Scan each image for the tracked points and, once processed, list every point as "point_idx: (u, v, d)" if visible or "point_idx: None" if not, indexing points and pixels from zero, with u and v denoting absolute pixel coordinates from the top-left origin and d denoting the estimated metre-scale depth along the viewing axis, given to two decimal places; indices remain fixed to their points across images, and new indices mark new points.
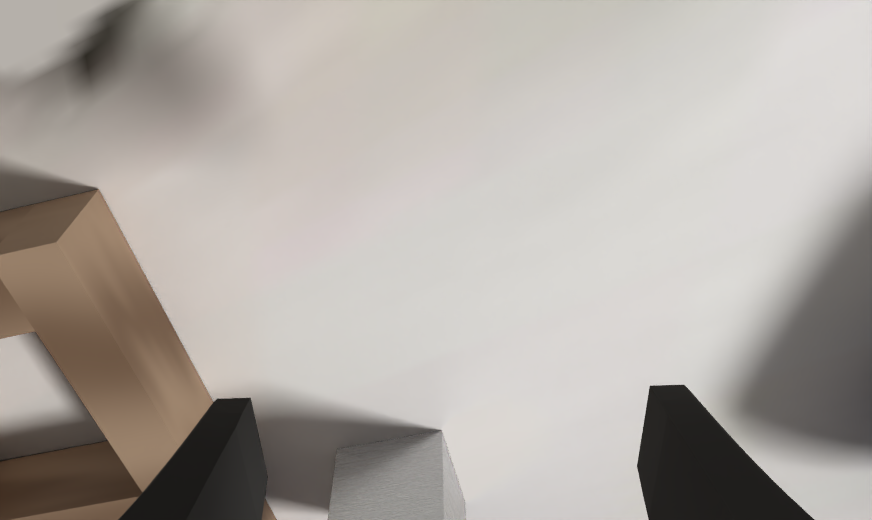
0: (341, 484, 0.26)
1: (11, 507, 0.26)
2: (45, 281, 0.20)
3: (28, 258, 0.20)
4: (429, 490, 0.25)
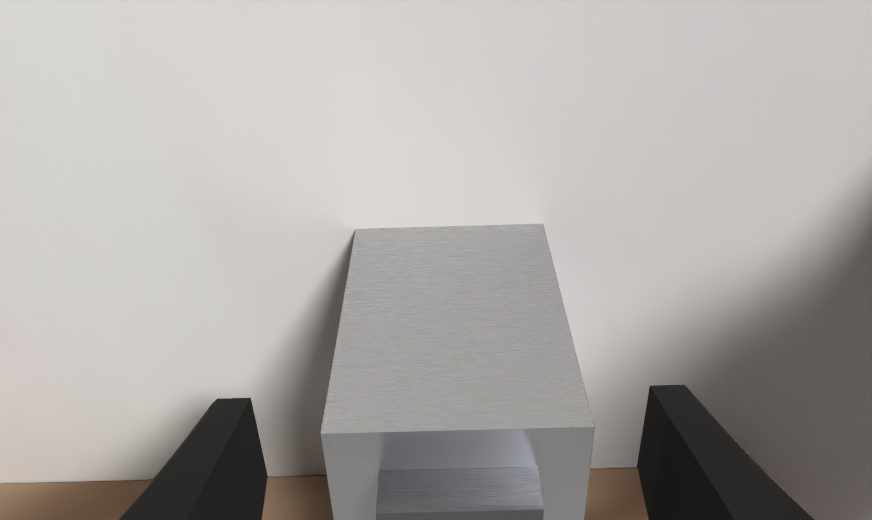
0: None
1: None
2: None
3: None
4: None
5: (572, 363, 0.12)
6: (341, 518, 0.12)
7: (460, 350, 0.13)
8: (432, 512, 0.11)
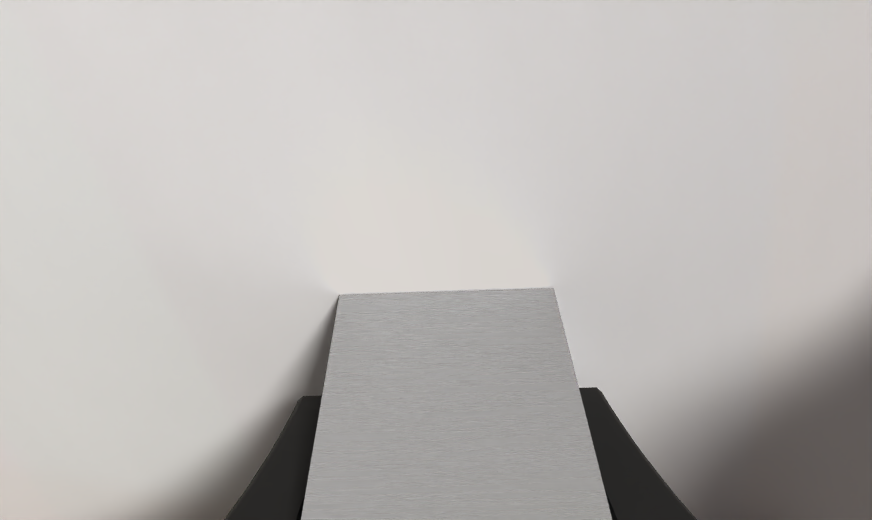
0: None
1: None
2: None
3: None
4: None
5: (595, 480, 0.10)
6: None
7: (460, 461, 0.11)
8: None
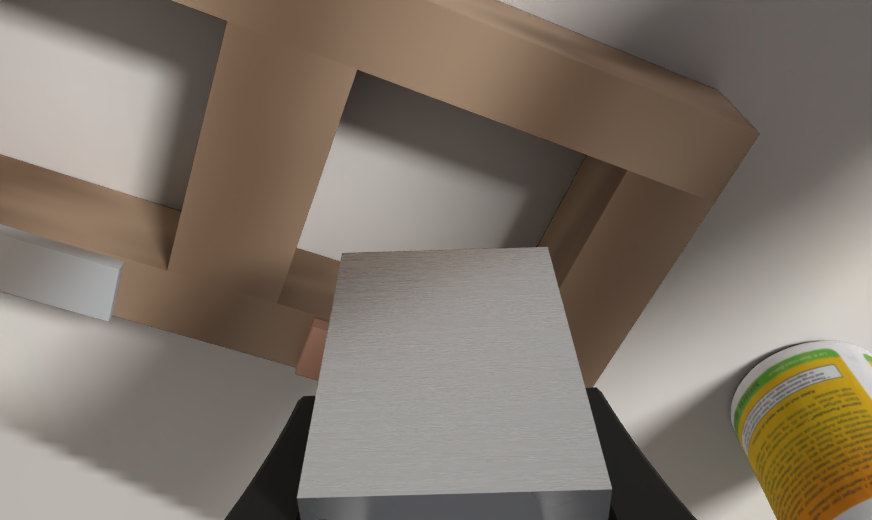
0: None
1: None
2: None
3: None
4: None
5: (584, 411, 0.11)
6: None
7: (457, 395, 0.11)
8: None
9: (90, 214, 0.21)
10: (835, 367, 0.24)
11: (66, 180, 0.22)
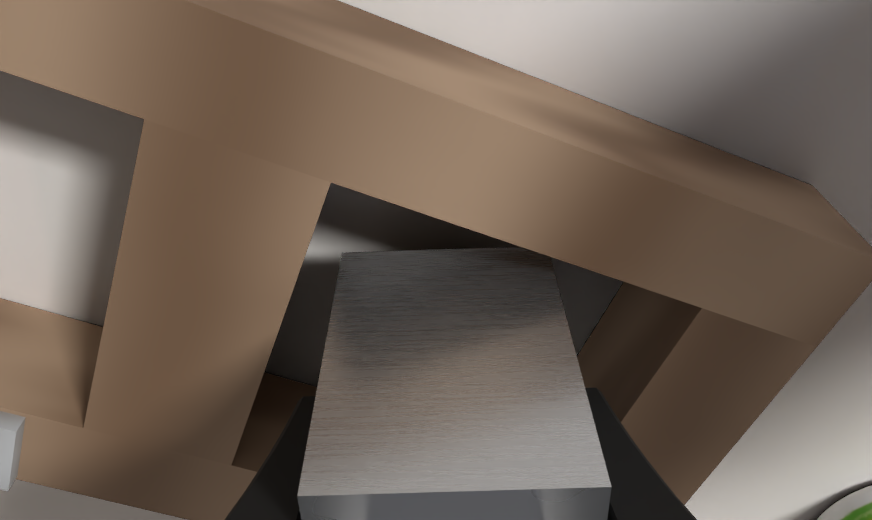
0: None
1: None
2: None
3: None
4: None
5: (584, 409, 0.11)
6: None
7: (456, 393, 0.11)
8: None
9: None
10: None
11: None
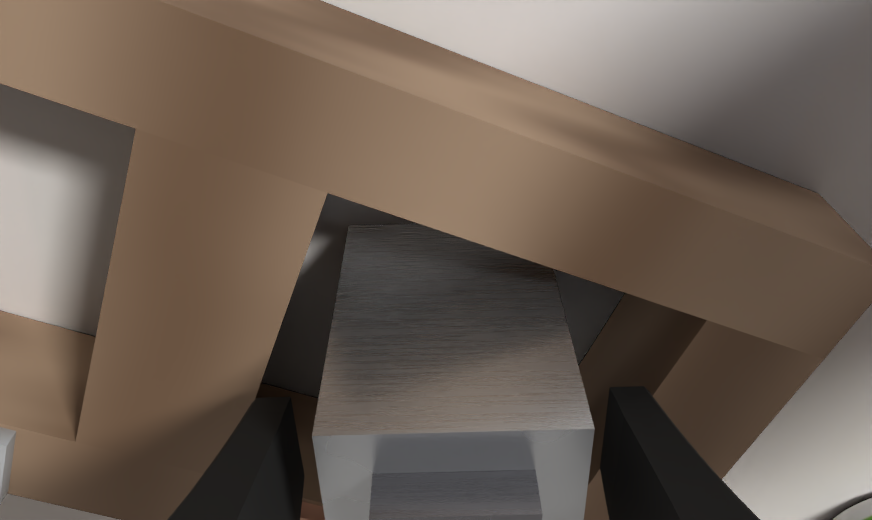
0: None
1: None
2: None
3: None
4: None
5: (571, 363, 0.12)
6: None
7: (455, 350, 0.12)
8: (427, 517, 0.10)
9: None
10: None
11: None
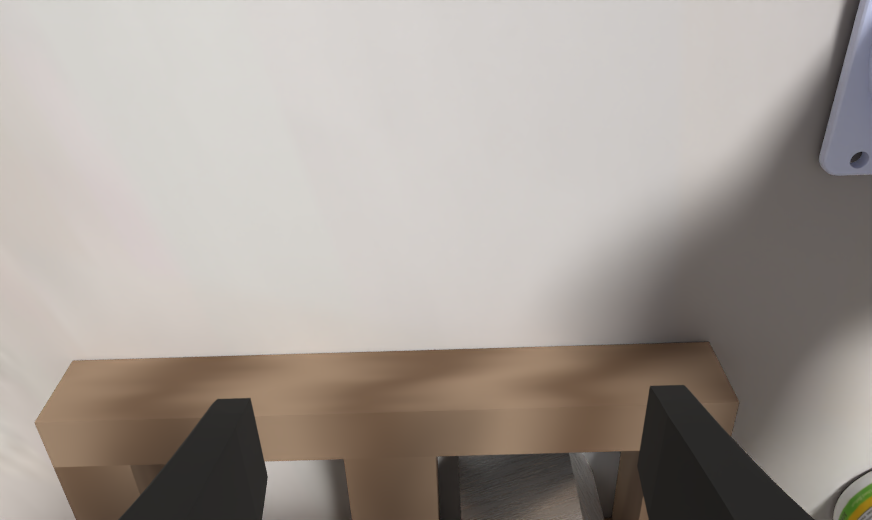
0: None
1: None
2: (74, 442, 0.24)
3: (51, 444, 0.24)
4: None
5: (576, 504, 0.24)
6: None
7: (521, 510, 0.24)
8: None
9: None
10: None
11: None
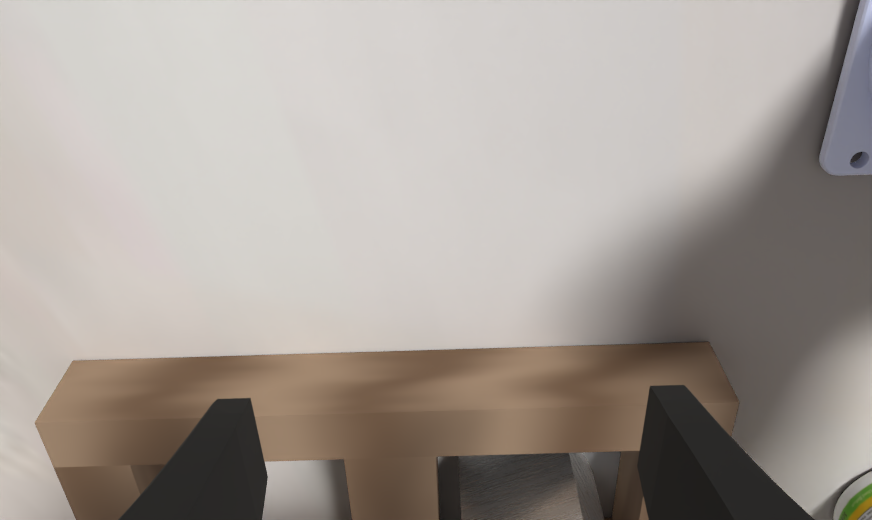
0: None
1: None
2: (74, 442, 0.24)
3: (51, 444, 0.24)
4: None
5: (576, 504, 0.24)
6: None
7: (521, 510, 0.24)
8: None
9: None
10: None
11: None
